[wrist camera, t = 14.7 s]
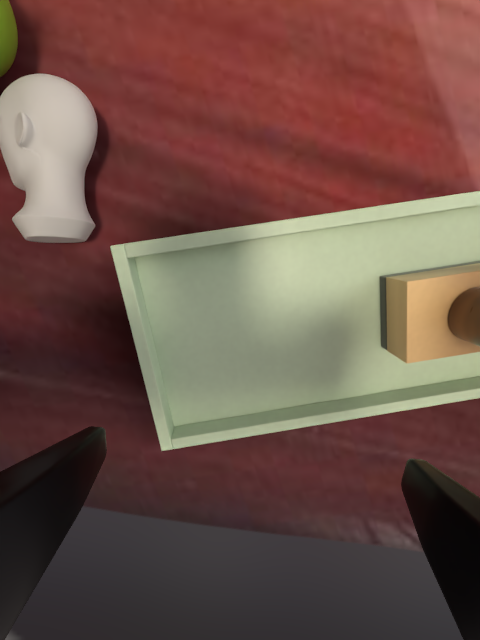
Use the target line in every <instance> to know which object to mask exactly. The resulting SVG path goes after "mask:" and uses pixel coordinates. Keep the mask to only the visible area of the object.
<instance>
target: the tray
mask: <svg viewBox="0 0 480 640" xmlns="http://www.w3.org/2000/svg"><path fill="white" fill-rule="evenodd" d="M110 248H111V252H112V256H113V260H114V264H115V268H116V272H117V276H118V280H119V284H120V288H121V292H122V296H123V300H124V304H125V308H126V312H127V316H128V319H129V323H130V327H131V331H132V335H133V339H134V343H135V347H136V351H137V355H138V359H139V363H140V367H141V371H142V375H143V379H144V383H145V387H146V391H147V395H148V399H149V403H150V407H151V411H152V414H153V418H154V422H155V426H156V430H157V434H158V438H159V442H160V446H161V450H162V451H165V450H171V449H173V448H174V449H177V448H183V447H189V446H195V445H201V444H207V443H213V442H219V441H225V440H231V439H237V438H243V437H249V436H255V435H261V434H267V433H273V432H279V431H285V430H291V429H297V428H303V427H309V426H315V425H321V424H327V423H333V422H339V421H345V420H351V419H356V418H362V417H368V416H374V415H380V414H386V413H392V412H398V411H404V410H410V409H416V408H422V407H428V406H434V405H440V404H446V403H452V402H458V401H464V400H470V399H476V398H480V352H476V353H469V354H463V355H457V356H451V357H445V358H439V359H432V360H426V361H420V362H414V363H408V364H407V363H405V362H404V361H402V360H400V359H399V358H397V357H396V356H394V355H393V354H391V353H390V352H388V351H387V350H386V349H384V348H382V347H381V312H380V276H383V275H390V274H396V273H403V272H409V271H416V270H422V269H429V268H435V267H442V266H448V265H455V264H461V263H468V262H474V261H480V191H475V192H469V193H462V194H455V195H449V196H442V197H435V198H428V199H422V200H415V201H408V202H401V203H395V204H388V205H381V206H375V207H368V208H361V209H354V210H348V211H341V212H334V213H327V214H321V215H314V216H307V217H301V218H294V219H287V220H280V221H274V222H267V223H260V224H254V225H247V226H240V227H233V228H227V229H220V230H213V231H206V232H200V233H193V234H186V235H180V236H173V237H166V238H159V239H153V240H146V241H139V242H132V243H126V244H119V245H113V246H110Z"/></svg>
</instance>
